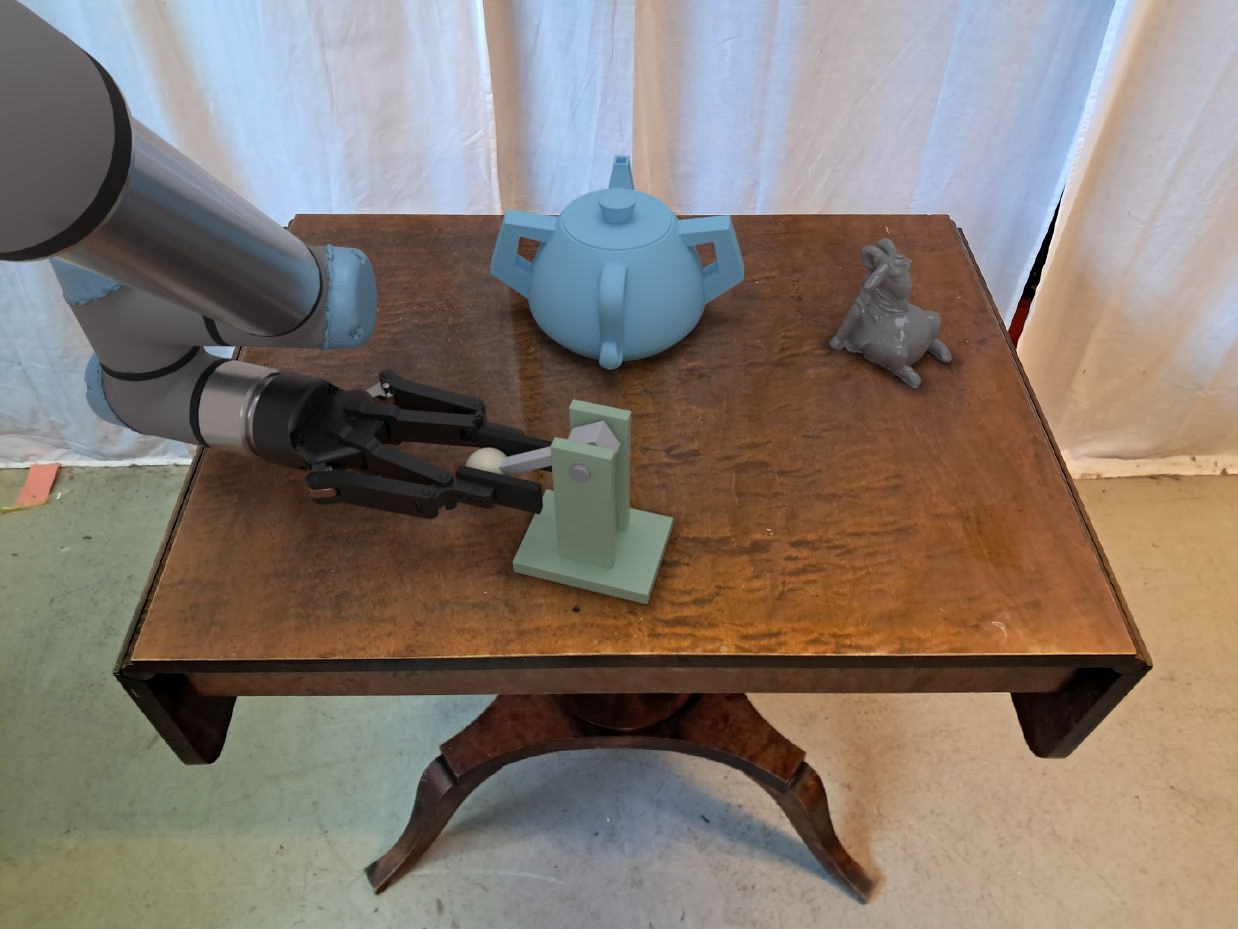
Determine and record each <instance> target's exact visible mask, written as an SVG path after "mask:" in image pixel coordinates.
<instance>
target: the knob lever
mask: <svg viewBox="0 0 1238 929" xmlns="http://www.w3.org/2000/svg"><path fill="white" fill-rule="evenodd" d="M567 440H572V441H576V442H581V443H586V444H590V445H595V446H600V447H604V448H609V449H614V450H615V456H616V453H617V451H618V448H619V446H620V442H619V441H618V440H617V438H616V437H615V435H614V434H613V433H612V431H611V430H610V428H609V427H608V426H607V424H606V423H605V421H604V420H603V421H599V422H595V423H591V424H587V425H583V426H579V427H576V428H573V429H572V431H571V433H570V432H569V436H568V437H567ZM465 466H467V467H471V468H476V469H480V470H484V471H489V472H493V473H498V474H502V475H506V476H511V477H512V476H513V475H516V474H520V473H521V474H522V473H525V472H530V471H534V470H539V468H543V467H547V466H552V460H551V446H550V447H546V448H542V449H538V450H534V451H530V452H526V453H522V454H518V455H513V456H509V457H507V456H506V455H505V454H504V453H503V452H501V451H500V450H498V449H495V448H482V449H480V448H479V449H477V450H475V451H474V452H473V453H472V454H470V456H469V457H468V459H467V460H466V462H465Z"/></svg>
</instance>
